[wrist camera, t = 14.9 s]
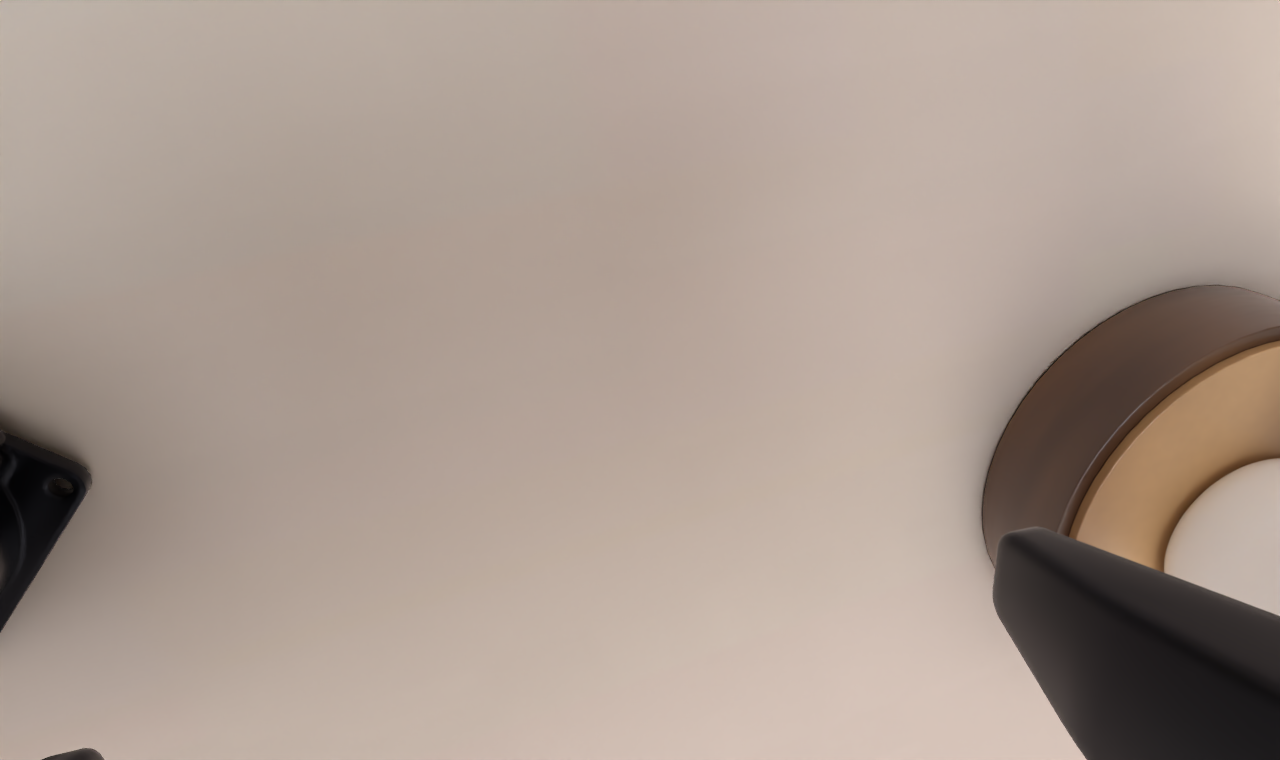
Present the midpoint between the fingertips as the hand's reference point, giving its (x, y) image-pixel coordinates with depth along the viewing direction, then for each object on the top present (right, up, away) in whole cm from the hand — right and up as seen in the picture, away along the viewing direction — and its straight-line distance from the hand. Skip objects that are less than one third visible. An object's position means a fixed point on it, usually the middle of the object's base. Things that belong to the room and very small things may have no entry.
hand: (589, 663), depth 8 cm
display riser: (+17, 0, +19) cm, 25 cm away
